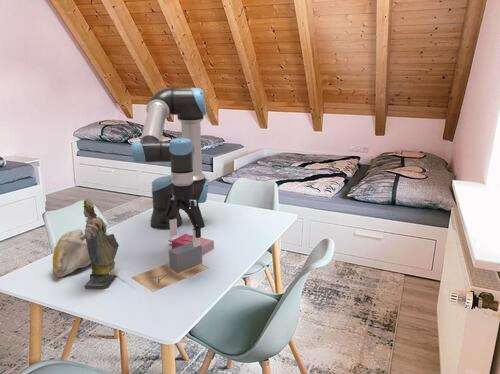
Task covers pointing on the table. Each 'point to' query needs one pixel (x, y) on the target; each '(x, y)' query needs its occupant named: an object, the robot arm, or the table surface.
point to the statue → (99, 249)
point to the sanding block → (185, 258)
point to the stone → (70, 253)
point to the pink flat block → (186, 239)
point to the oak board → (163, 277)
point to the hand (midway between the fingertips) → (185, 240)
